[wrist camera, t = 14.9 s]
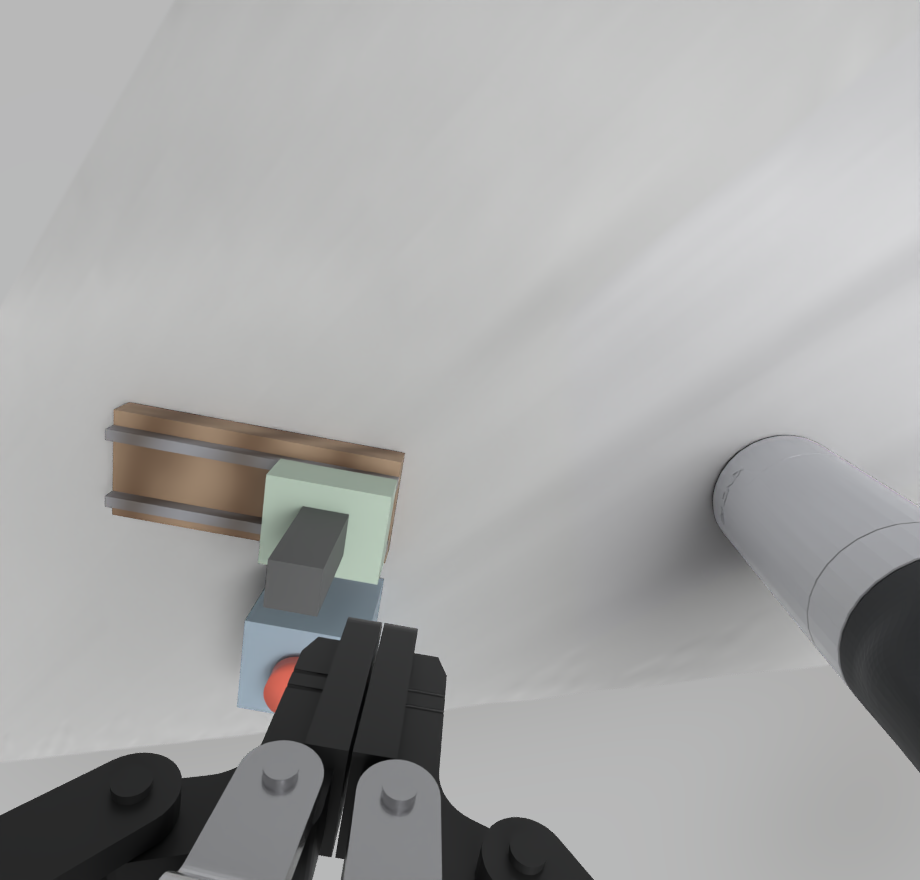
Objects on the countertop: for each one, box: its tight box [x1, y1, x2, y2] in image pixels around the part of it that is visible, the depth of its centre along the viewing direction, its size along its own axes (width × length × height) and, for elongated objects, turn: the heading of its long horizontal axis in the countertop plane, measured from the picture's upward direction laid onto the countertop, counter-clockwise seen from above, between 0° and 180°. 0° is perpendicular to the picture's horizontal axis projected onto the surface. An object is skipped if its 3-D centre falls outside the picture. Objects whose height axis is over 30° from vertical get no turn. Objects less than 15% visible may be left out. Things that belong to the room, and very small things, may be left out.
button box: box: [237, 577, 384, 714], centre depth 46 cm, size 8×7×8 cm
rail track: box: [105, 402, 405, 563], centre depth 46 cm, size 20×8×3 cm, turn 80°
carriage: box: [258, 459, 397, 617], centre depth 39 cm, size 8×6×10 cm
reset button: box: [263, 657, 299, 713], centre depth 41 cm, size 4×4×2 cm
